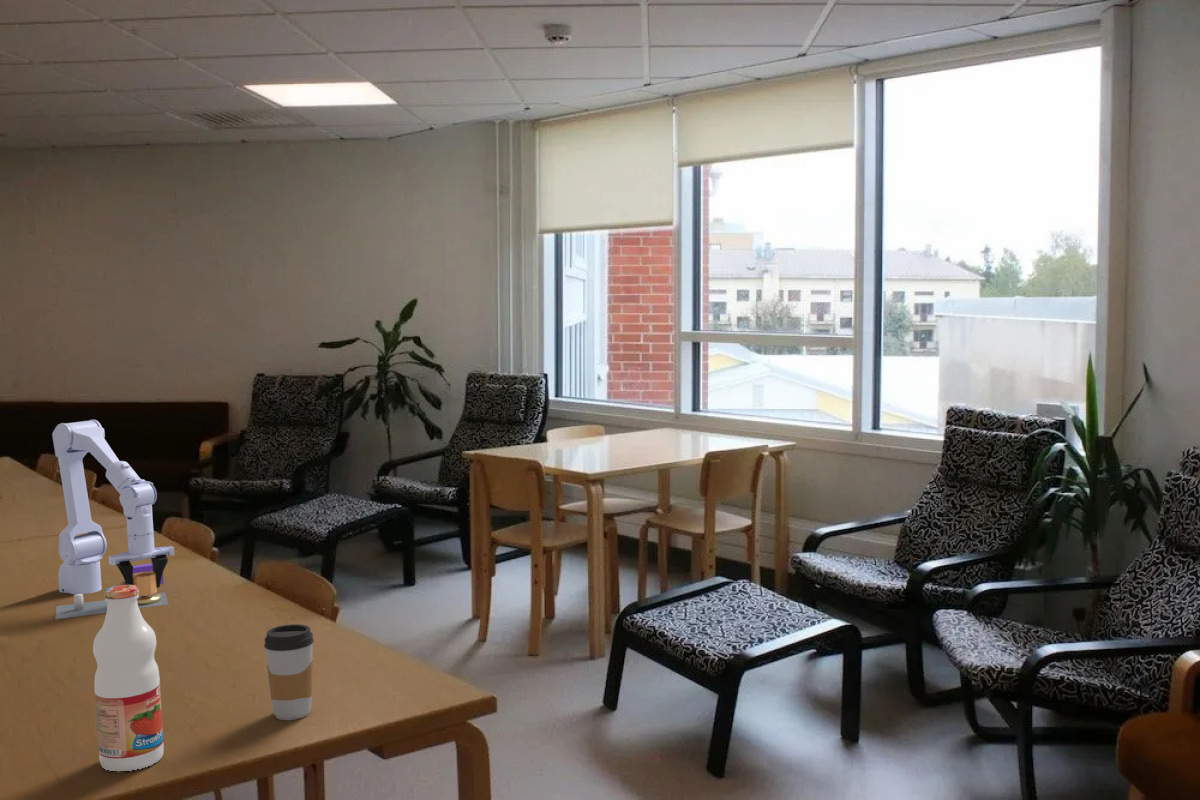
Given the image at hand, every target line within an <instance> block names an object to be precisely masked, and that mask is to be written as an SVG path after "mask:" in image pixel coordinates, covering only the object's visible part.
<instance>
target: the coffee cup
mask: <svg viewBox="0 0 1200 800" xmlns="http://www.w3.org/2000/svg"><path fill="white" fill-rule="evenodd" d="M313 637H314V634H313V632H311V628H310V626H309V625H305V624H300V623H299V624H296V623H295V624H293V623H291V624H284V625H279V626H274V627H272V628H270V629H267V631H266V636H265V637H264V645H263V647H264V649H265V653H266V654H265V655H266V663H267V667H266V669H267V675H268V683H269V684H268V685H269V690H270V691H269V692H270V698H271V705H272V711H273V713H272V714H273V715H274V717H275V718H276V719H278V720H282V721H293V720H299V719H302V718H305V717H306V716H308V715H309V714H310V711H311V710H312V695H313V665H314V664H313V661H314V660H313V643H314V638H313Z"/></svg>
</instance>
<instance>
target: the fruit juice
mask: <svg viewBox="0 0 1200 800" xmlns="http://www.w3.org/2000/svg"><path fill="white" fill-rule="evenodd" d="M103 596H104V600H105V601H106V602H107V613H106V614H105V618H104V622H103V625H102V627H101V628H100V629H99V631H98V632H97V634H96V635H95V638H94V639H93V644H92V652H93V655H94V659H95V661H96V663H97V668H96V670H95V674H94V695H95V696H94V697H95V711H96V712H95V713H96V715H95V716H96V725H97V726H96V727H97V742H98V757H99V763H100V766H102V767H101V768H102V769H103V768H104V769H105V771H107V770H109V771H108V772H110V771H118V772H117V773H120V772H119V771H130V772H133V771H132V770H135V771H138V770H137V769H139V770H142V768H143V769H146V768H148V766H149V767H151V766H153V765H155V764H156V763H158V762H159V761H160V760H161V759H162V758H163V756H164V749H165V746H164V730H163V714H162V698H161V696H162V695H161V680H160V679H161V677H160V670H159V666H158V663H157V662H156V659H155V652H156V648H157V637H156V632H155V630H154V629H153V627H151V626H150V625H149V623H147V621H146V620H145V619H144V617H143V615H142V613H141V611H140V610H141V609H140V608H139V607H138V603H137V598H138V597H139V589H138V587H137V586H135V585H126V584H122V585H114V586H111V587H109V588H106V589H105V590H104V595H103ZM154 763H155V764H154ZM145 767H146V768H145ZM104 769H103V770H104Z"/></svg>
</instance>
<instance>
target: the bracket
mask: <svg viewBox="0 0 1200 800" xmlns="http://www.w3.org/2000/svg"><path fill="white" fill-rule="evenodd" d="M132 566H133V574H136V573H140V572H153V566H152V563H146V564H139V565H132ZM164 582H165V581H164V573H163V574H162V577H161V582H160V585H163V584H164Z"/></svg>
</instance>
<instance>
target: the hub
mask: <svg viewBox="0 0 1200 800" xmlns="http://www.w3.org/2000/svg"><path fill="white" fill-rule="evenodd" d="M158 593H159V592H156V593H154V594H152V595H147V596H139V597H138V598H137V603H138V605H148V604H153V603H156V602H158V601H160V600H161V595H160V594H158Z"/></svg>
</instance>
